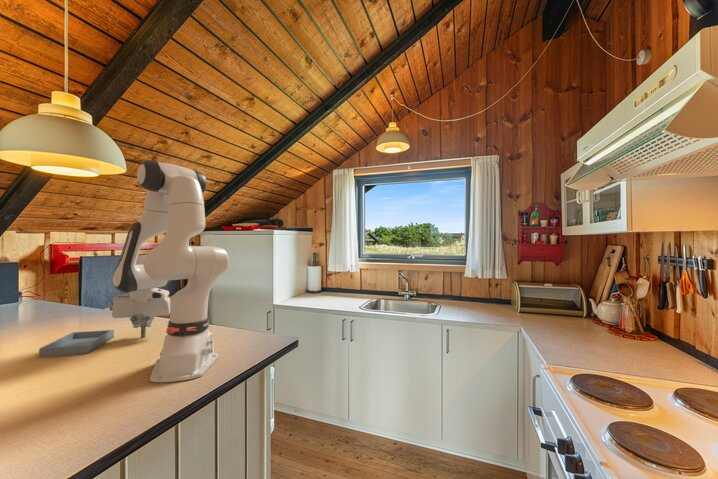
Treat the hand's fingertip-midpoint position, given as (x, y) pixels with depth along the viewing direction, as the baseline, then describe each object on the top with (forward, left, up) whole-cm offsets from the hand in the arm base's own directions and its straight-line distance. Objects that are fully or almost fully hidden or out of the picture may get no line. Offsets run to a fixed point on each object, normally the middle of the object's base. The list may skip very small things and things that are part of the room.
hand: (142, 327), depth 121 cm
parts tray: (-6, +18, -4) cm, 19 cm away
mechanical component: (0, 0, -5) cm, 5 cm away
